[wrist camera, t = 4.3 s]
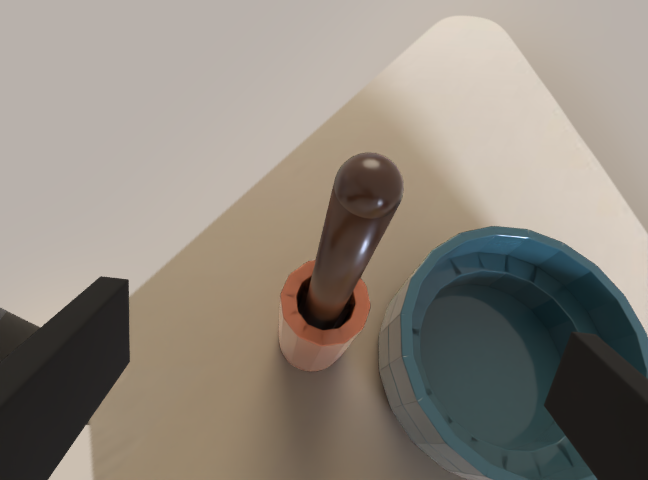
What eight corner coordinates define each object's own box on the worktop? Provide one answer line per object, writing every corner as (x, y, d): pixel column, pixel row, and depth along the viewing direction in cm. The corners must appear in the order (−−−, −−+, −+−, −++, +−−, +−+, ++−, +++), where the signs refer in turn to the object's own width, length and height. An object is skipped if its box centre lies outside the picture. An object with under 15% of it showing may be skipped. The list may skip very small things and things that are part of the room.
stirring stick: (293, 343, 29) (328, 183, 11) (304, 317, 30) (353, 127, 12) (320, 354, 29) (401, 211, 11) (330, 327, 30) (420, 153, 12)
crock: (268, 356, 29) (266, 324, 21) (293, 297, 31) (301, 246, 23) (330, 382, 29) (353, 359, 21) (352, 320, 31) (380, 278, 23)
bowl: (346, 429, 28) (366, 427, 22) (408, 235, 34) (436, 194, 29) (573, 525, 27) (657, 548, 21) (591, 306, 33) (659, 278, 28)
